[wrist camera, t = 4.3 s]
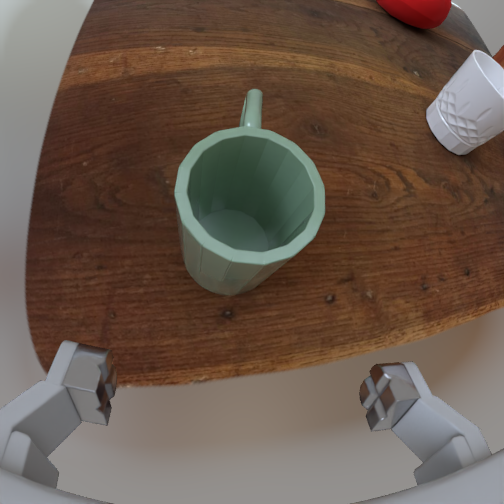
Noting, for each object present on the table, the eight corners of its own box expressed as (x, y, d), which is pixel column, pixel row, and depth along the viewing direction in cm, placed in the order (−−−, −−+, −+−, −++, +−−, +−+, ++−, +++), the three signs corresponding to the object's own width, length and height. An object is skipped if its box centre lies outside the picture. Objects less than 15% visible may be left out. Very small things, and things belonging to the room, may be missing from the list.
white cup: (411, 95, 29) (460, 39, 20) (457, 110, 31) (504, 65, 21) (435, 155, 27) (499, 101, 18) (479, 165, 29) (537, 123, 19)
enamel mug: (271, 299, 21) (326, 271, 12) (177, 290, 20) (164, 254, 11) (277, 162, 23) (318, 80, 15) (196, 151, 22) (202, 60, 14)
